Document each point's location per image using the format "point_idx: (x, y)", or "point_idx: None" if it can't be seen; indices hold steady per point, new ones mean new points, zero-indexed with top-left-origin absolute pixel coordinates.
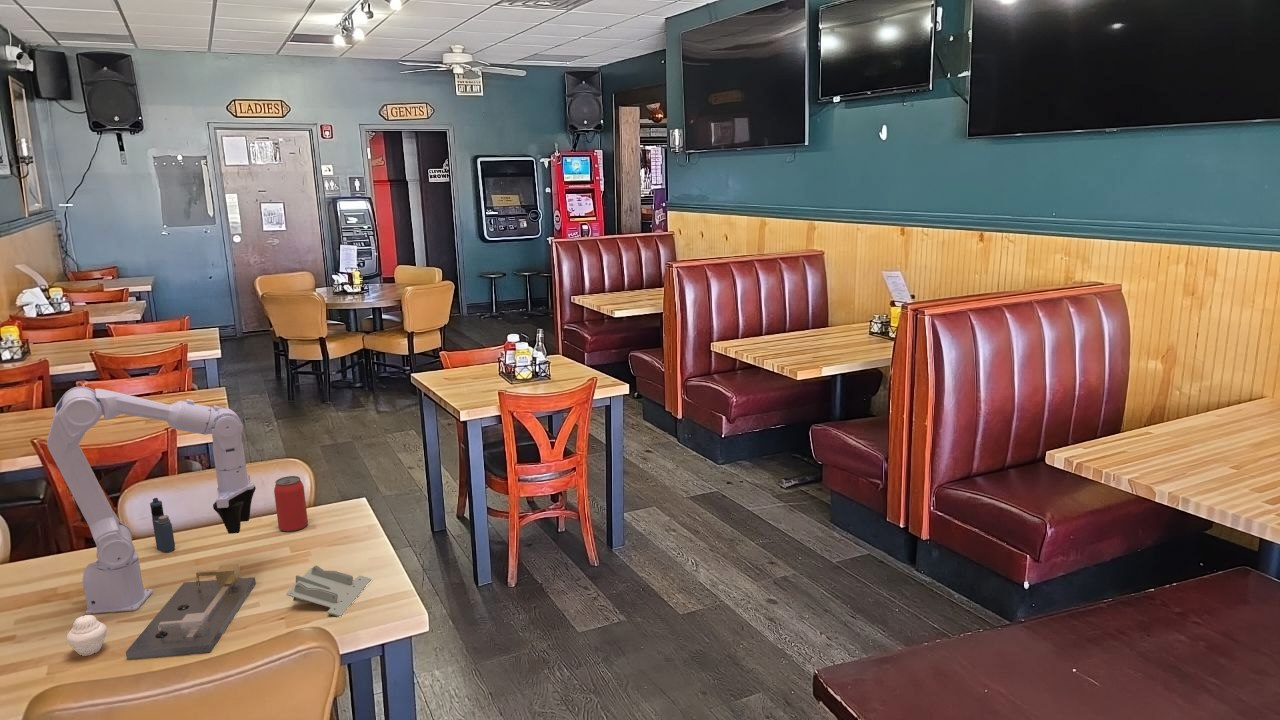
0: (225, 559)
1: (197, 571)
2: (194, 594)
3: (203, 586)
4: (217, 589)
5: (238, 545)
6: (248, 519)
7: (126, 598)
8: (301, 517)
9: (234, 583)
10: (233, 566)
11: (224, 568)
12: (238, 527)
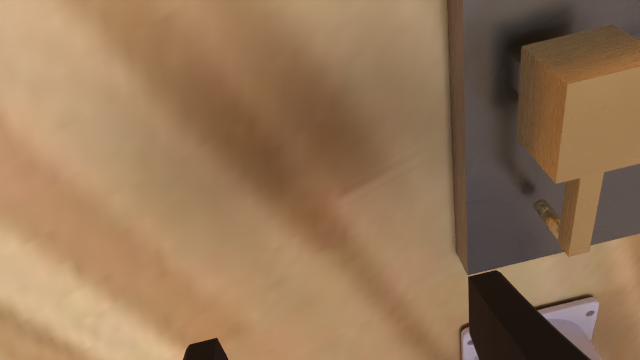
0: (175, 266)
1: (573, 253)
2: None
3: (524, 186)
4: None
5: (18, 296)
6: (211, 350)
7: (595, 351)
8: None
9: None
10: (597, 99)
11: (611, 138)
12: (536, 311)
